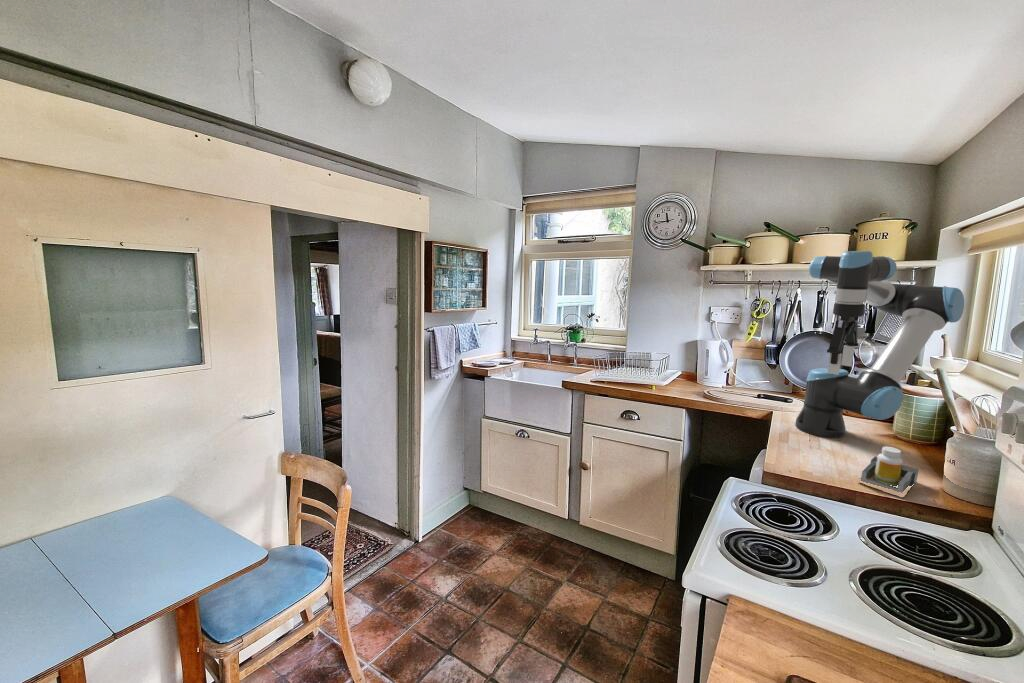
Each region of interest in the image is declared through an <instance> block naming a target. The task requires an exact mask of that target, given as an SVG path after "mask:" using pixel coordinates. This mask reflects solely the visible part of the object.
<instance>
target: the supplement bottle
mask: <svg viewBox="0 0 1024 683" xmlns="http://www.w3.org/2000/svg"><path fill="white" fill-rule="evenodd" d="M901 454H902V451H901V450H900V449H899V448H896V447H891V446H882V448H881V453H879V454H878V455H877V456H876V457H877V462H876V467H875V473H874V479H875V480H876V481H878V482H881V483H884V484H887V485H892V486H895V485H898V483H899V478H900V473H901V468H902V463H903V459H902V458H901Z"/></svg>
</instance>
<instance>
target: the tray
mask: <svg viewBox="0 0 1024 683" xmlns="http://www.w3.org/2000/svg"><path fill="white" fill-rule="evenodd" d="M877 457H878V456H874V457H872V459H871V460H870V463H869V464H868V465H867V466H866V467H865V468H864V469H862V471H861V477H860V478H859V479H861V481H863V482H866V483H870V484H873V485H877V486H881V487H884V488H888V489H892V490H894V491H897V492H901V493H902V492H903V491H904V490H905V489H906V488H907V487H908V486H912V485H913V484H914V483H915V482H916V483H917V482H918V481H917V480H918V476H919V471H920V469H919V468H917V467H913V466H910V465H906V464H904V463H903V462H902V468H901V473H900V478H899V483H898V488H896V487H893V486H890V485H887V484H884V483H881V482H878V481H876V480H875V479H874V473H875V467H876V462H877ZM916 483H915V484H916ZM915 484H914V485H915ZM895 486H897V485H895Z"/></svg>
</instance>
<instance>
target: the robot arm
mask: <svg viewBox="0 0 1024 683" xmlns="http://www.w3.org/2000/svg"><path fill="white" fill-rule="evenodd" d="M897 268H898V266H897V263H896V261H895V260H894V259H893V258H891V257H888V256H883V255H882V256H879V255H877V256H874V255H873V252H872V251H870V250H853V251H852V250H850V251H849V250H847V251H844V252H842V253H841V256H840V255H839V256H833V255H832V256H831V255H830V256H829V255H825V256H816V257H814V258H813V259H812V260H811V261H810V264H809V266H808V272H809V275H810V276H811V277H812V278H814V279H819V280H827V281H829V282H832V283H834V284H835V285H836V290H834V292H833V294H834V295H835V297H834V301H835V303H834V304H833V311H832V314H833V315H835V316H838V317H839V319H838V320H837V319H836V320H835V323H834V330H833V332H832V336H831V339H830V343H829V346H828V349H826V350H827V351H826V353H828V354H829V358H828V360H829V361H828V367H820V368H812V369H811V370H809V372H808V373H807V378H806V386H805V392H804V393H805V394H804V400H803V401H804V402H803V406H802V408H801V410H800V411H799V414H798V415H797V416H796V419H795V425H794V426H795V427H796V428H797V429H798V430H800V431H802V432H805V433H807V434H810V435H814V436H817V437H824V438H842V437H844V436H845V435H846V429H847V428H846V424H845V421H844V420H845V419H844V416H843V410H845V411H847V412H852V413H855V414H857V415H861V416H864V417H865V418H869V419H870V418H871V419H875V420H880V421H882V420H887V419H890V418H891V417H893V416H894V415H895V414H897V412H898V411H899V410H900V408H901V407H902V402H904V392H903V390H902V385H901V383H900V382H901V381H902V379H903V378H904V376H905V375H906V373H907V372H908V370H909V369H910V368H911V366H912V364H913V362H914V361H915V360H916V358H917V357H918V356H919V354H920V353H921V352H922V350H923V348H924V347H925V345H926V344H927V342H929V340H930V338H931V336H932V335H933V334H934V332H935V331H940V330H942V329H944V327H945V326H946V325H947V323H950V324H951V323H957V322H958V321H960V320H961V318H962V316H963V313H964V310H965V297H964V296H965V295H964V294H963V291H962V290H961V289H960V288H958V287H951V286H950V287H949V286H947V285H946V286H945V285H944V286H934V285H933V286H932V285H919V284H916V285H915V284H905V283H904V284H903V283H902V284H900V283H892V282H890V281H887V280H889V279H890V278H892V277H893V276H894V275H895V274H896V272H897ZM864 303H866V304H868V306H869V305H870V306H872V307H873V308H876V309H878V310H879V311H883V312H884V313H887V314H890V315H892V316H897V317H902V319H903V321H902V322H901V324H900V325H899V327H898V328H897V329H896V331H895V332H894V334H893V335H892V337H891V338H890V339H889V341H888V342H887V343H886V345H885V347H884V348H883V350H882V351H881V353H880V354H879V356H878V357H877V359H875V361H874V362H873V364H872V366H871V367H870V368H869V369H865V370H862V371H860V374H859V375H858V376H857V377H854V376H849V375H850V373H849V371H848V370H846V369H842V368H841V366H843V367H844V366H845V367H853V361H854V354H855V348H856V347H859V342H858V331H859V330H858V325H859V324H858V321H859V317H863V316H864V314H865V308H866V304H864Z"/></svg>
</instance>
